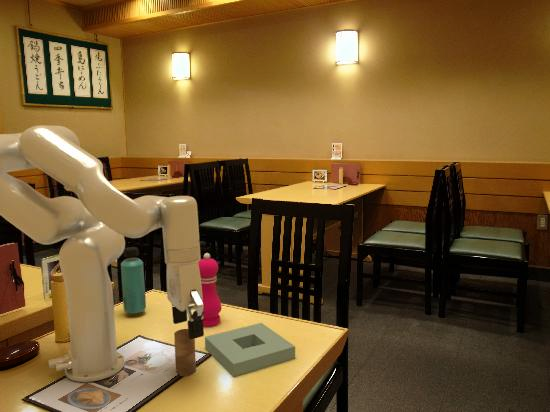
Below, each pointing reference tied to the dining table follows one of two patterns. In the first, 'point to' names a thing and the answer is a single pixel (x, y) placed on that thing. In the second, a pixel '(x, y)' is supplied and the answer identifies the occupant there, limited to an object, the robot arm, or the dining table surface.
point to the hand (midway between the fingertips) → (188, 329)
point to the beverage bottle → (133, 282)
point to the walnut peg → (184, 353)
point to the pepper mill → (209, 291)
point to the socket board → (243, 361)
